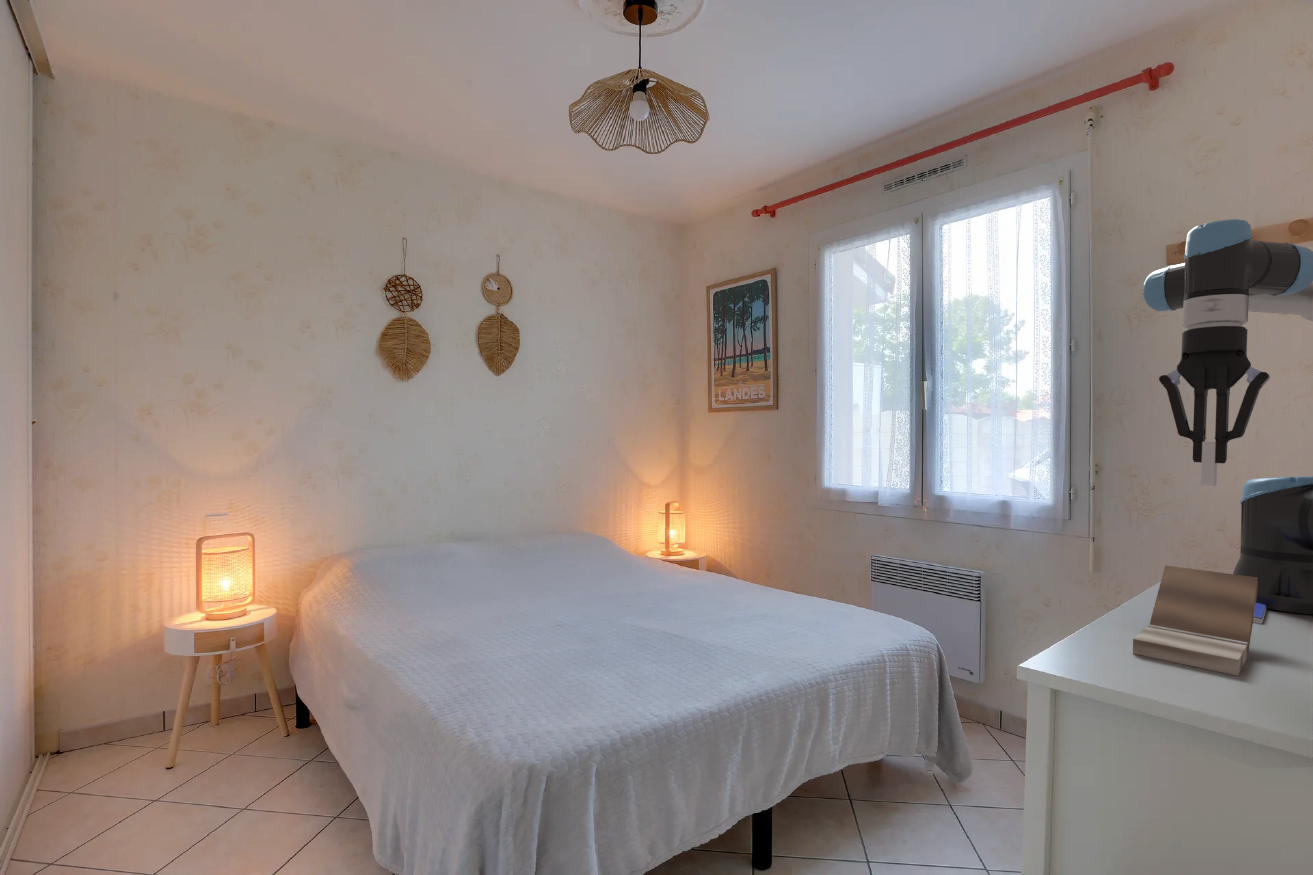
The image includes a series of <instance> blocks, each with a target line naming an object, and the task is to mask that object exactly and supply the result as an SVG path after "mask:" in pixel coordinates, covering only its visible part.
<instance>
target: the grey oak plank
mask: <svg viewBox="0 0 1313 875" xmlns="http://www.w3.org/2000/svg"><path fill="white" fill-rule="evenodd" d="M1247 648H1248V642H1242V641H1237V640H1231V639H1226V638H1221V637H1215V636H1210V635H1204V634H1199V633H1193V632H1188V631H1183V630H1177V629H1172V628H1166V627H1161V626H1156V625H1150V623H1149V624H1147V625H1146V627H1145V628H1144V629H1143V630H1142V631H1140V632H1139V633H1138V634H1137V635H1136V636H1135V637H1133V638H1132V654H1133V655H1137V656H1139V655H1140V656H1144V657H1149V658H1153V659H1157V660H1162V661H1163V660H1164V661H1167V662H1171V663H1176V664H1182V665H1185V666H1186V665H1187V666H1190V667H1196V668H1201V669H1205V670H1209V671H1212V672H1213V671H1214V672H1219V673H1222V674H1223V673H1224V674H1228V675H1233V676H1237V677H1238V676H1239V675H1240V673H1241V671H1242V668H1243V667H1244V666H1245V663H1246V662H1247V660H1248V652H1247Z"/></svg>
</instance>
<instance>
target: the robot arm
mask: <svg viewBox="0 0 1313 875" xmlns="http://www.w3.org/2000/svg"><path fill="white" fill-rule="evenodd" d="M1185 242H1186V243H1185V250H1184V251H1185V252H1184V254H1183V258H1184V263H1183V262H1182V263H1180V264H1178V263H1177V264H1175V265H1173V264H1170V265H1168V266H1167V267H1163V268H1160V269H1157V270H1154V271H1152V272H1151V273H1150V274H1149V275H1148V276H1147V277H1146V279H1145V280H1144V283H1143V285H1142V286H1143V289H1142V290H1143V292H1142V296H1143V299H1144V301H1145V304H1147V306H1148V307H1149V308H1151V309H1152V310H1154V311H1158V312H1166V311H1171V312H1172V311H1176V310H1179V309H1182V310H1183V311H1182V327H1183V328H1185V329H1186V330H1184V331H1183V332H1182V334H1181V358H1180V361H1178V363H1177V366H1176V369H1174V370H1173V371H1171V372H1169V373H1166V374H1163V375H1160V376H1159V378H1158V382H1160V384H1161V385H1162V386H1163V388H1164V389H1165V390H1166V393H1167V396H1168V401H1169V403H1170V409H1171V411H1172V415H1173V419H1174V423H1175V427H1176V429H1177V433H1178V436H1180V437H1183V438H1187V439H1189V440H1191V441H1192V443H1193V444H1192V460H1193V462H1194V463H1201V469H1200V470H1201V473H1200V486H1210V487H1215V486H1217V478H1218V477H1217V476H1218V464H1226V462H1227V460H1228V443H1229V442H1230V441H1232V440H1235V439H1240V438H1242V437H1244V435H1245V432H1246V429H1247V427H1248V424H1249V422H1250V418H1251V415H1252V413H1253V410H1254V407H1255V405H1256V401H1257V399H1258V396H1259V394H1260V391H1261V389H1262V388H1263V387H1264V386H1265V385H1266V384H1267V383H1268V381H1269V380H1270V378H1271V376H1270V374H1269V373H1268V372H1267V371H1261V370H1259V369H1256V368H1255V367H1253V366H1252V363H1251V361H1250V360H1249V358H1248V356H1247V353H1248V352H1247V351H1248V329H1247V327H1245V326H1243V325H1246V324H1247V323H1248V321H1249V313H1265V314H1266V313H1267V314H1277V315H1278V314H1282V315H1292V316H1293V315H1294V316H1295V315H1297V316H1300V317H1302V318H1303V319H1305V320H1307V321H1310V322H1313V250H1311V249H1310V248H1308V247H1306V246H1301V245H1296V244H1294V243H1292V242H1291V243H1290V242H1284V243H1283V242H1272V241H1263V240H1256V239H1253V233H1252V226H1251V224H1250V223H1249V222H1248V221H1247V220H1244V219H1235V218H1234V219H1232V218H1231V219H1222V220H1215V221H1210V222H1206V223H1202V224H1199V225H1197V226H1195V227H1193V228H1192V229H1190V230H1189V231H1188V233H1187V235H1186V241H1185ZM1245 375H1247V378H1246V382H1247V383H1248V386H1247V388H1246V389H1245V390H1246V391H1245V393H1244V395H1243V399H1242V402H1241V404H1240V408H1239V410H1238V412H1237V415H1236V418H1235V421H1234V423H1233V426H1232V427H1233V428H1232V429H1231V430H1229V416H1230V396H1231V395H1230V394H1231V388H1233V387H1234V386H1235V385H1236V384H1237V383H1238V382H1239V381H1240V380H1241V379H1242V378H1243V377H1244V376H1245ZM1180 377H1182V379H1184V380H1185V382H1186V383H1188V385H1189V386H1190V387H1191V388H1193V390H1194V391H1193V396H1194V398H1193V423H1192V424H1193V426H1192V428H1193V429H1191V428H1190V424H1189V421H1188V417H1187V413H1186V410H1185V406H1184V402H1183V398H1182V395H1181V390H1180V388H1179V387H1178V386H1179V385H1180V384H1181V380H1180ZM1210 390H1215V395H1216V399H1215V401H1216V404H1215V426H1214V427H1215V432H1214V433H1215V435H1214V440H1215V441H1206V440H1207V436H1206V435H1207V434H1206V433H1207V413H1208V408H1207V406H1208V394H1209V391H1210ZM1242 487H1243V488H1242V494H1241V499H1240V506H1241V507H1240V508H1241V509H1240V514H1241V515H1240V518H1241V519H1240V550H1239V551H1240V552H1239V554H1240V555H1239V559H1238V560H1237V563H1236V565H1235V567H1234V570H1233V572H1232V574H1235V575H1243V576H1250V577H1258V592H1257V598H1256V603H1261V604H1264V605H1266V610H1267V609H1268V610H1274V611H1281V612H1287V613H1294V614H1295V613H1297V614H1304V615H1313V476H1281V477H1262V478H1261V477H1260V478H1252V479H1249V480H1247V481H1246V482H1245V483H1244V484H1243V486H1242Z"/></svg>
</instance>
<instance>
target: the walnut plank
mask: <svg viewBox="0 0 1313 875" xmlns="http://www.w3.org/2000/svg"><path fill="white" fill-rule="evenodd" d="M1257 592H1258V577H1250V576H1243V575H1235V574H1233V573H1225V572H1219V571H1212V570H1211V571H1210V570H1203V569H1198V568H1197V569H1195V568H1188V567H1179V566H1171V565H1166V564H1165V565H1164V568H1163V573H1162V575H1161V579H1160V583H1159V588H1158V591H1157V595H1156V599H1155V602H1154V606H1153V610H1152V614H1151V617H1150V620H1149V624H1150V625H1156V626H1161V627H1166V628H1172V629H1177V630H1183V631H1188V632H1193V633H1199V634H1204V635H1210V636H1215V637H1221V638H1226V639H1231V640H1237V641H1242V642H1248V648H1247V653H1250V652H1249V651H1250V646H1251V645H1250V644H1251V638H1252V631H1253V624H1254V622H1253V619H1254V612H1255V605H1256V598H1257Z"/></svg>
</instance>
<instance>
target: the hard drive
mask: <svg viewBox="0 0 1313 875" xmlns="http://www.w3.org/2000/svg"><path fill="white" fill-rule="evenodd" d="M1266 612H1267V608H1266V605H1264V604H1261V603H1256V605H1255V612H1254V619H1253V624H1254V623H1255V624H1263V621H1264V618H1265V615H1266Z"/></svg>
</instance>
